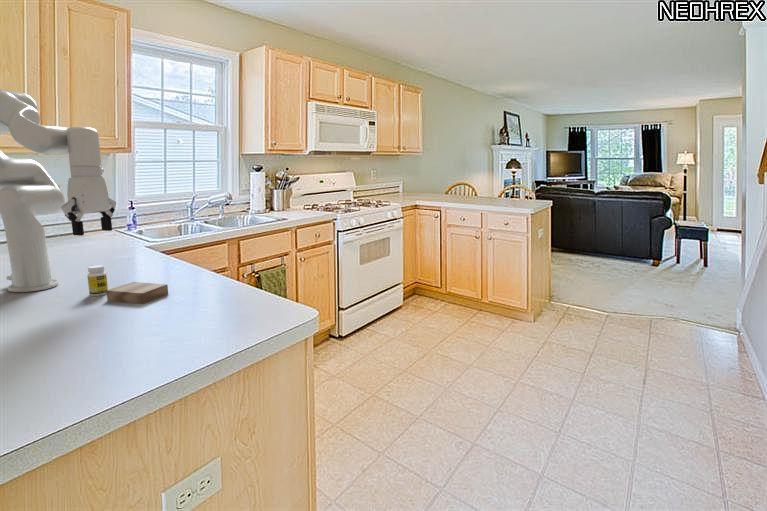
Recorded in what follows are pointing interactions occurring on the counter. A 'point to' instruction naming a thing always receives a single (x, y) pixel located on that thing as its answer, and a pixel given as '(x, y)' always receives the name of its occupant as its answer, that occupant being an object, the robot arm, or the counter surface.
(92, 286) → the supplement bottle
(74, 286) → the counter surface
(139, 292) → the walnut base
